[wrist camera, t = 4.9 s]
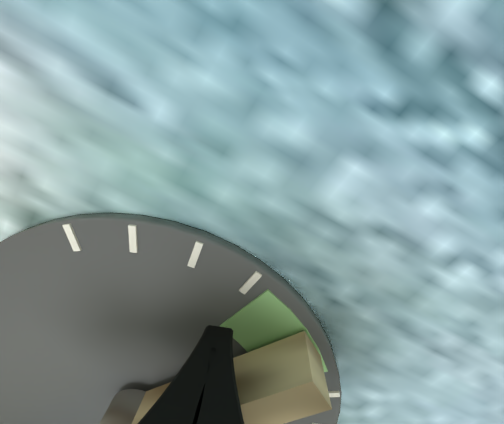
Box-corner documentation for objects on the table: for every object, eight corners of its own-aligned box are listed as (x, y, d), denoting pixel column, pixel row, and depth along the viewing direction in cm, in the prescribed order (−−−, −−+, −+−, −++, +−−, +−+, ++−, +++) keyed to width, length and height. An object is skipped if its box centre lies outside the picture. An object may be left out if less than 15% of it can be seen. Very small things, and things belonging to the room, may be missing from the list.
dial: (297, 506, 18) (299, 525, 17) (10, 462, 18) (-3, 479, 17) (390, 248, 10) (401, 260, 10) (-98, 182, 11) (-129, 187, 10)
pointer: (135, 429, 14) (109, 489, 12) (101, 398, 13) (67, 456, 11) (326, 364, 11) (340, 425, 9) (298, 321, 11) (306, 375, 8)
